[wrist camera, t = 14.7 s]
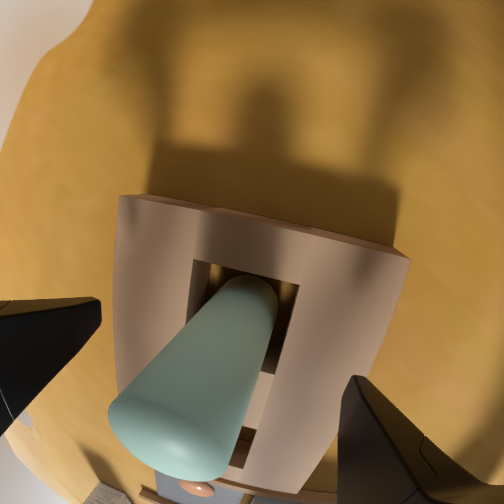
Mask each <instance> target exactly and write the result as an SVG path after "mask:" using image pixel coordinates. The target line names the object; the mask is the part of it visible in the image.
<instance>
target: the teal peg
mask: <svg viewBox="0 0 504 504" xmlns="http://www.w3.org/2000/svg"><path fill="white" fill-rule="evenodd" d="M278 309H279V303H278V298H277V295H276V293H275V291H274V290H273V288H272V287H271V286H270V285H269V284H268V283H267V282H266V281H264V280H262V279H261V278H258V277H256V276H252V275H240V276H236V277H233V278H231V279H230V280H228V281H227V282H226V283H225V284H224V285H223V286H222V287H221V288H220V289H219V290H218V291H217V292H216V293H215V294H214V296H213V297H212V298H211V299H210V300H209V301H208V302H207V303H206V304H205V305H204V306H203V307H202V308H201V309H200V310H199V311H198V312H197V313H196V314H195V316H194V317H193V318H192V319H191V320H190V321H189V322H188V323H187V324H186V325H185V326H184V327H183V328H182V329H181V330H180V331H179V332H178V333H177V335H176V336H175V337H174V338H173V339H172V340H171V341H170V342H169V343H168V344H167V345H166V346H165V347H164V348H163V349H162V350H161V351H160V352H159V353H158V355H157V356H156V357H155V358H154V359H153V360H152V361H151V362H150V363H149V364H148V365H147V366H146V367H145V368H144V369H143V370H142V371H141V372H140V373H139V374H138V376H137V377H136V378H135V379H134V380H133V381H132V382H131V383H130V384H129V385H128V386H127V387H126V388H125V389H124V390H123V391H122V392H121V393H120V394H119V396H118V397H117V398H116V399H115V400H114V401H113V402H112V403H111V404H110V406H109V409H108V419H109V422H110V425H111V428H112V430H113V432H114V433H115V435H116V436H117V438H118V439H119V441H120V442H121V443H122V444H123V445H124V446H125V448H126V449H127V450H128V451H130V452H131V453H132V454H133V455H134V456H135V457H137V458H138V459H139V460H140V461H142V462H143V463H145V464H146V465H148V466H150V467H151V468H153V469H155V470H157V471H159V472H161V473H164V474H166V475H169V476H171V477H175V478H178V479H182V480H187V481H197V482H202V481H210V480H214V479H217V478H219V477H220V476H222V475H223V474H224V473H225V471H226V469H227V467H228V464H229V461H230V458H231V456H232V453H233V450H234V447H235V444H236V442H237V439H238V436H239V433H240V430H241V427H242V424H243V421H244V419H245V416H246V413H247V410H248V407H249V404H250V401H251V398H252V395H253V392H254V389H255V385H256V382H257V379H258V376H259V373H260V370H261V367H262V363H263V360H264V357H265V354H266V351H267V347H268V344H269V341H270V337H271V334H272V331H273V327H274V324H275V321H276V317H277V314H278Z"/></svg>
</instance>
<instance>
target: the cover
mask: <svg viewBox="0 0 504 504" xmlns="http://www.w3.org/2000/svg"><path fill="white" fill-rule="evenodd" d="M250 504H302V503H295V502H288V501H281V500H276V499H270V498H265V497H260V496H254V498H253V500H252V501H251V503H250Z"/></svg>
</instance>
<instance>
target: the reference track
mask: <svg viewBox="0 0 504 504" xmlns="http://www.w3.org/2000/svg"><path fill="white" fill-rule="evenodd" d="M155 476H156V485H157V492H158V495H156V494H154V493H152V492H150V491H147V490H145V489H143V488H142V490H141V492H140V493H139V497H141V498H143V499H145V500H148V501H150V502H152V503H154V504H179V503H180V504H240V502H241V500H242V497H243V495H244V493H246V494H251V495H255V496H260V497H265V498H270V499H276V500H281V501H288V502H295V503H302V504H337V493H326V492H316V491H308V490H299V492H298V493H297V494H292V493H286V492H280V491H275V490H269V489H264V488H260V487H255V486H251V485H246V484H242V483H238V482H235V481H231V480H227V479H224V478H220V477H219V478H217V479H214V480H210V481H202V482H197V481H187V480H182V479H178V478H175V477H171V476H169V475H166V474H164V473H161V472H159V471H157V470H155ZM159 495H160V496H159ZM161 496H162V497H161ZM163 497H164V498H163ZM166 498H167V499H166ZM168 499H169V500H168ZM171 500H172V501H171ZM176 502H177V503H176Z"/></svg>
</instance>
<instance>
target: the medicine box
mask: <svg viewBox="0 0 504 504" xmlns="http://www.w3.org/2000/svg"><path fill="white" fill-rule="evenodd" d="M83 504H132V503H131V501H130V500H129V499H128V497H127V496H126V494H125V493H123V492H121V491H119V490H116V489H114V488H112V487H110V486H108V485H106V484H104V483H102V482H101V483H100V482H99V483H98V484H97V486H96V487H95V488H94V490H93V491H92V492H91V494H90V495H89V496H88V498H87V499H86V500H85V501H84V503H83Z"/></svg>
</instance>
